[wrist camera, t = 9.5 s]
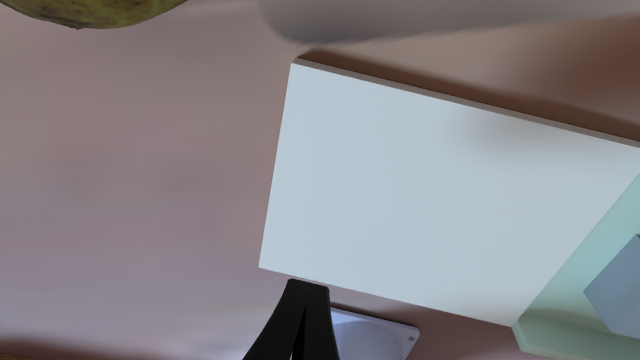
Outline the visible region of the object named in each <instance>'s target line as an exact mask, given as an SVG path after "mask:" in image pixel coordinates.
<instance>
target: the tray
mask: <svg viewBox="0 0 640 360" xmlns="http://www.w3.org/2000/svg"><path fill="white" fill-rule="evenodd" d="M634 235H640V173H639V174H638V175H637V176H636V178H635V179H634V180H633V181H632V182H631V184H630V185H629V186H628V187H627V189H626V190H625V191H624V192H623V193H622V195H621V196H620V197H619V198H618V199H617V201H616V202H615V203H614V204H613V205H612V207H611V208H610V209H609V210H608V211H607V213H606V214H605V215H604V216H603V217H602V219H601V220H600V221H599V222H598V223H597V225H596V226H595V227H594V228H593V229H592V231H591V232H590V233H589V234H588V235H587V237H586V238H585V239H584V240H583V241H582V243H581V244H580V245H579V246H578V247H577V249H576V250H575V251H574V252H573V254H572V255H571V256H570V257H569V258H568V260H567V261H566V262H565V263H564V264H563V266H562V267H561V268H560V269H559V270H558V272H557V273H556V274H555V275H554V276H553V278H552V279H551V280H550V281H549V282H548V284H547V285H546V286H545V287H544V288H543V290H542V291H541V292H540V293H539V294H538V296H537V297H536V298H535V299H534V300H533V302H532V303H531V304H530V305H529V306H528V308H527V309H526V310H525V311H524V312H523V314H522V315H521V316H520V317H519V318H518V320H517V321H516V322H515V323H514V325H513V326H512V327H511V328H512V330H513V333H514V335H515V338H516V340H517V343H518V345H519V348H520V350H521V352H525V353H529V354H533V355H538V356H542V357H546V358H550V359H555V360H640V339H638V338H634V337H630V336H625V335H621V334H617V333H613V332H610V330H609V329H608V327H607V326H606V325H605V323H604V322H603V320H602V319H601V317H600V316H599V314H598V313H597V311H596V310H595V308H594V307H593V305H592V304H591V302H590V301H589V300H588V298H587V297H586V295H585V294H584V292H583V290H584V289H585V288H586V287H587V286H588V285H589V284H590V283H591V282H592V281H593V280H594V279H595V277H596V276H597V275H598V274H599V273H600V272H601V271H602V270H603V269H604V268H605V267H606V266H607V265H608V263H609V262H610V261H611V260H612V259H613V258H614V257H615V256H616V255H617V254H618V253H619V252H620V250H621V249H622V248H623V247H624V246H625V245H626V244H627V243H628V242H629V241H630V240H631V239H632V238H633V236H634Z"/></svg>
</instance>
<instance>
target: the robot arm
mask: <svg viewBox="0 0 640 360" xmlns="http://www.w3.org/2000/svg"><path fill="white" fill-rule="evenodd" d="M419 336H420V331H419V329H418V328H416V327H412V326H408V325H404V324H399V323H395V322H391V321H387V320H382V319H378V318H374V317H370V316H366V315H361V314H357V313H353V312H349V311H344V310H340V309H336V308H332V307H330V297H329V289H328V287H326V286H322V285H318V284H313V283H309V282H305V281H301V280H296V279H289V280H288V282H287V285H286V288H285V290H284V292H283V295H282V297H281V299H280V301H279V303H278V305H277V307H276V308H275V310H274V312H273V314H272V315H271V317H270V319H269V320H268V322H267V324H266V325H265V327H264V329H263V330H262V332H261V333H260V335H259V336H258V338H257V339H256V341H255V342H254V344H253V345H252V347H251V348H250V349H249V351H248V352H247V354H246V355H245V357H244V358H243V359H242V360H290V357H291V354H292V359H291V360H405V359H406V358H407V356H408V354H409V353H410V351H411V349H412V348H413V346H414V344H415V343H416V341H417V340H418V338H419Z"/></svg>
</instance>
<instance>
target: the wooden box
mask: <svg viewBox="0 0 640 360" xmlns="http://www.w3.org/2000/svg"><path fill="white" fill-rule="evenodd" d="M0 360H38V359H32V358H26V357H21V356H15V355H9V354H3V353H0Z"/></svg>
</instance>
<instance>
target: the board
mask: <svg viewBox="0 0 640 360" xmlns="http://www.w3.org/2000/svg"><path fill="white" fill-rule="evenodd" d="M639 173H640V142H639V141H635V140H631V139H626V138H622V137H618V136H614V135H610V134H606V133H602V132H598V131H594V130H590V129H586V128H581V127H577V126H573V125H569V124H565V123H561V122H557V121H553V120H549V119H545V118H541V117H537V116H532V115H528V114H524V113H520V112H516V111H512V110H508V109H504V108H500V107H496V106H492V105H488V104H483V103H479V102H475V101H471V100H467V99H463V98H459V97H455V96H451V95H447V94H443V93H439V92H434V91H430V90H426V89H422V88H418V87H414V86H410V85H406V84H402V83H398V82H394V81H389V80H385V79H381V78H377V77H373V76H369V75H365V74H361V73H357V72H353V71H349V70H345V69H340V68H336V67H332V66H328V65H324V64H320V63H316V62H312V61H308V60H304V59H300V58H295V59H294V60H293V61H292V63H291V68H290V74H289V80H288V86H287V93H286V99H285V105H284V111H283V118H282V124H281V130H280V136H279V143H278V149H277V155H276V161H275V168H274V174H273V180H272V186H271V193H270V199H269V205H268V211H267V218H266V224H265V230H264V236H263V243H262V249H261V255H260V261H259V268H263V269H268V270H272V271H276V272H280V273H284V274H289V275H293V276H297V277H301V278H306V279H310V280H314V281H318V282H322V283H327V284H331V285H335V286H339V287H343V288H348V289H352V290H356V291H360V292H365V293H369V294H373V295H377V296H381V297H386V298H390V299H394V300H398V301H403V302H407V303H411V304H415V305H419V306H424V307H428V308H432V309H436V310H441V311H445V312H449V313H453V314H457V315H462V316H466V317H470V318H474V319H478V320H483V321H487V322H491V323H495V324H500V325H504V326H508V327H512V326H513V325H514V323H515V322H516V321H517V320H518V318H519V317H520V316H521V315H522V314H523V312H524V311H525V310H526V309H527V308H528V306H529V305H530V304H531V303H532V302H533V300H534V299H535V298H536V297H537V296H538V294H539V293H540V292H541V291H542V290H543V288H544V287H545V286H546V285H547V284H548V282H549V281H550V280H551V279H552V278H553V276H554V275H555V274H556V273H557V272H558V270H559V269H560V268H561V267H562V266H563V264H564V263H565V262H566V261H567V260H568V258H569V257H570V256H571V255H572V254H573V252H574V251H575V250H576V249H577V247H578V246H579V245H580V244H581V243H582V241H583V240H584V239H585V238H586V237H587V235H588V234H589V233H590V232H591V231H592V229H593V228H594V227H595V226H596V225H597V223H598V222H599V221H600V220H601V219H602V217H603V216H604V215H605V214H606V213H607V211H608V210H609V209H610V208H611V207H612V205H613V204H614V203H615V202H616V201H617V199H618V198H619V197H620V196H621V195H622V193H623V192H624V191H625V190H626V189H627V187H628V186H629V185H630V184H631V182H632V181H633V180H634V179H635V178H636V176H637V175H638V174H639Z"/></svg>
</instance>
